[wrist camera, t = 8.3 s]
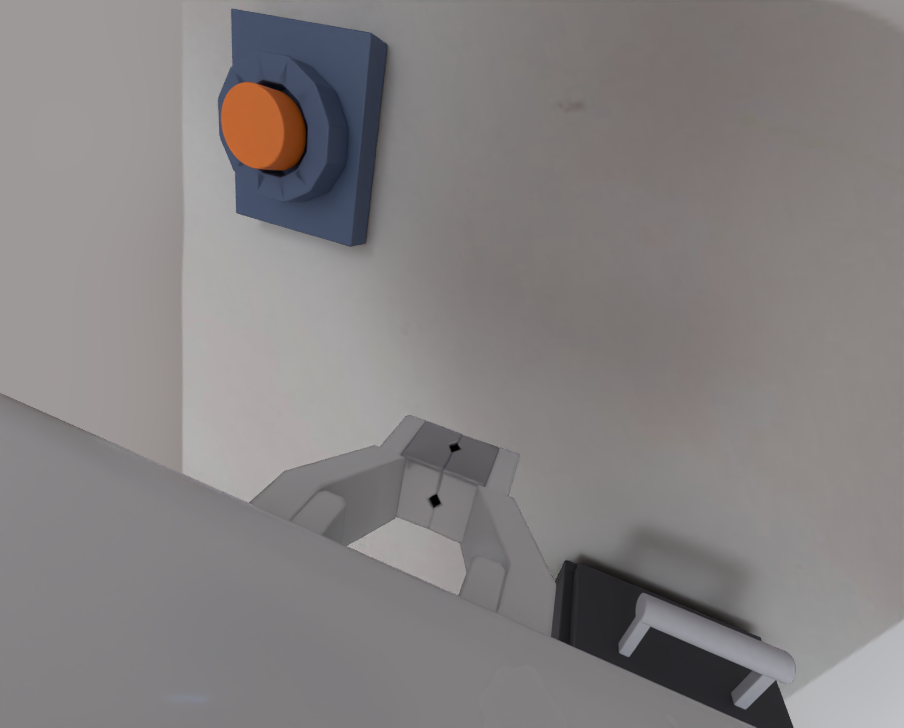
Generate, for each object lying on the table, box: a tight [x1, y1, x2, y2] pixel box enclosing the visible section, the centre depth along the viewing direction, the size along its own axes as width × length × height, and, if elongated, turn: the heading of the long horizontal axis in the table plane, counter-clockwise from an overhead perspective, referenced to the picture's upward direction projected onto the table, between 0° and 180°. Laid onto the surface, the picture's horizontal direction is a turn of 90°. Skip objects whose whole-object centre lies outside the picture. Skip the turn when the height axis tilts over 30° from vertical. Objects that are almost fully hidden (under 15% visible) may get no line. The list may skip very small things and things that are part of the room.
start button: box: [221, 82, 306, 170], centre depth 20 cm, size 4×4×2 cm
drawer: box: [569, 563, 796, 728], centre depth 25 cm, size 17×11×8 cm
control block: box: [218, 9, 387, 247], centre depth 22 cm, size 10×8×4 cm
